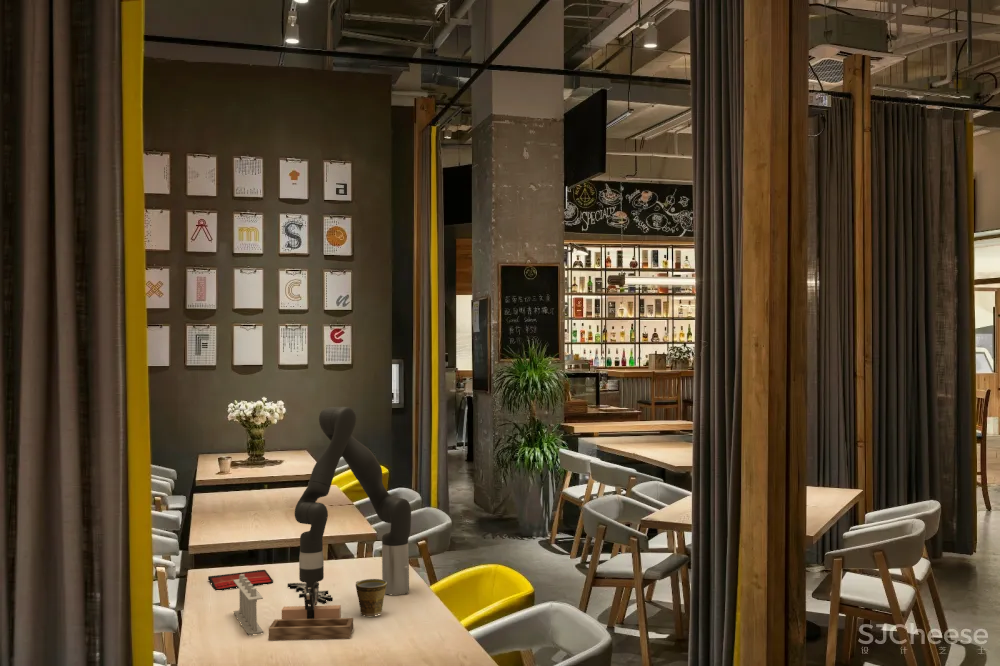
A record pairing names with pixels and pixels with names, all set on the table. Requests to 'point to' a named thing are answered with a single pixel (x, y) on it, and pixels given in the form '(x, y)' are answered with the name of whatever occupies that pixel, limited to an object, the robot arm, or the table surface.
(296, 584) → the dark angular piece
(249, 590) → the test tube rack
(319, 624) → the shallow wooden tray
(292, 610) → the clay strip
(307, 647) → the table surface
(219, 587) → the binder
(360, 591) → the ceramic cup
